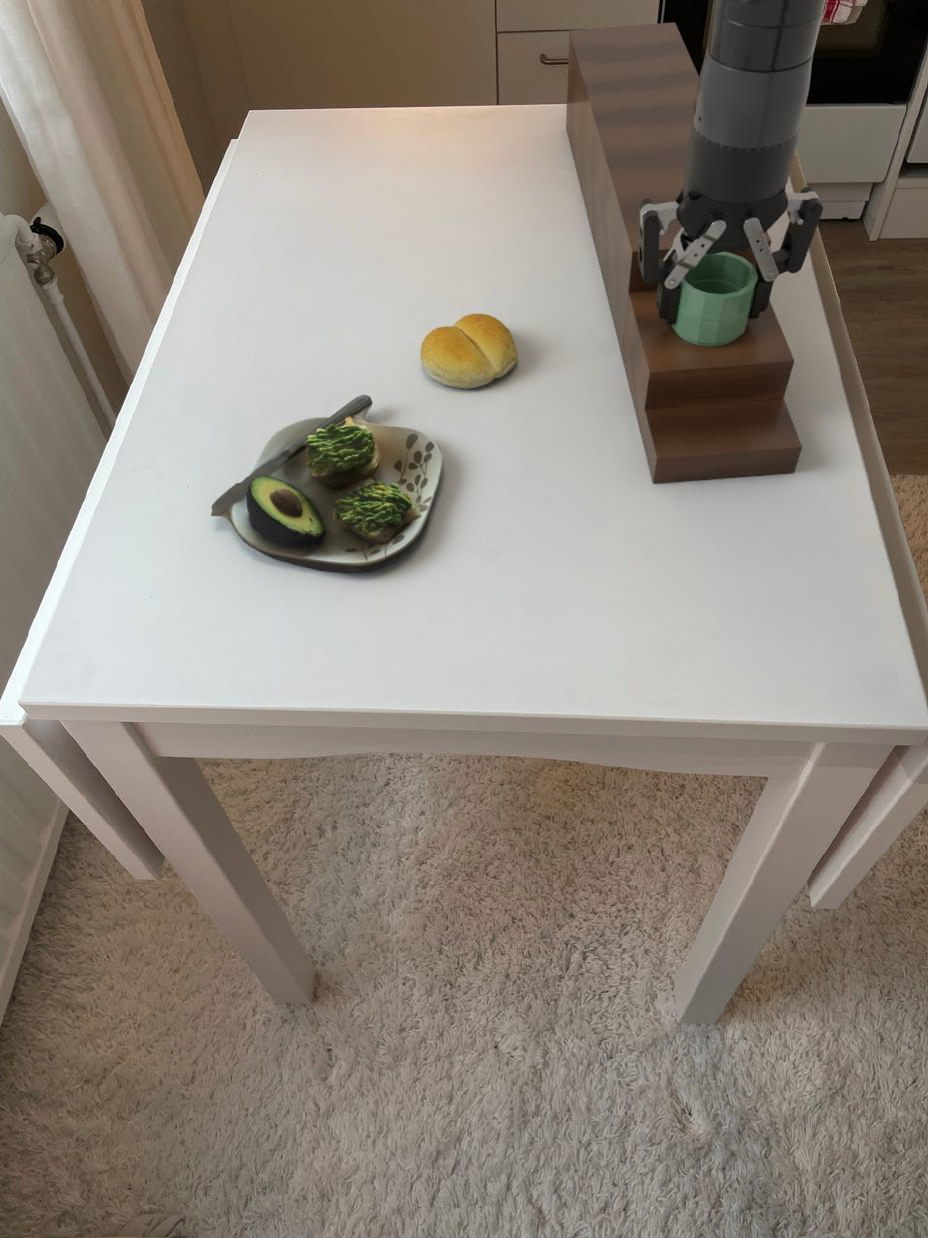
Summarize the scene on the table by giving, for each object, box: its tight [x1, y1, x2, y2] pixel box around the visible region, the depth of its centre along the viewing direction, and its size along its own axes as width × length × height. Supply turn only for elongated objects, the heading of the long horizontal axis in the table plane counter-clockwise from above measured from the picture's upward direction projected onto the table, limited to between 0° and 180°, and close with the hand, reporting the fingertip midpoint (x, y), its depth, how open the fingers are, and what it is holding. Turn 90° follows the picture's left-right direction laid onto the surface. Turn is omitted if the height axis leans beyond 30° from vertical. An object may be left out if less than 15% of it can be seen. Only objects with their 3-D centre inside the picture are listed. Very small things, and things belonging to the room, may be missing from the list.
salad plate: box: [210, 394, 445, 574], centre depth 80 cm, size 19×18×5 cm
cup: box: [672, 252, 758, 347], centre depth 80 cm, size 6×6×5 cm
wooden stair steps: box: [565, 21, 803, 484], centre depth 94 cm, size 61×12×11 cm, turn 3°
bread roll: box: [420, 313, 519, 390], centre depth 90 cm, size 8×9×4 cm
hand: (709, 315), depth 81 cm, fingers closed on cup, 6 cm apart
